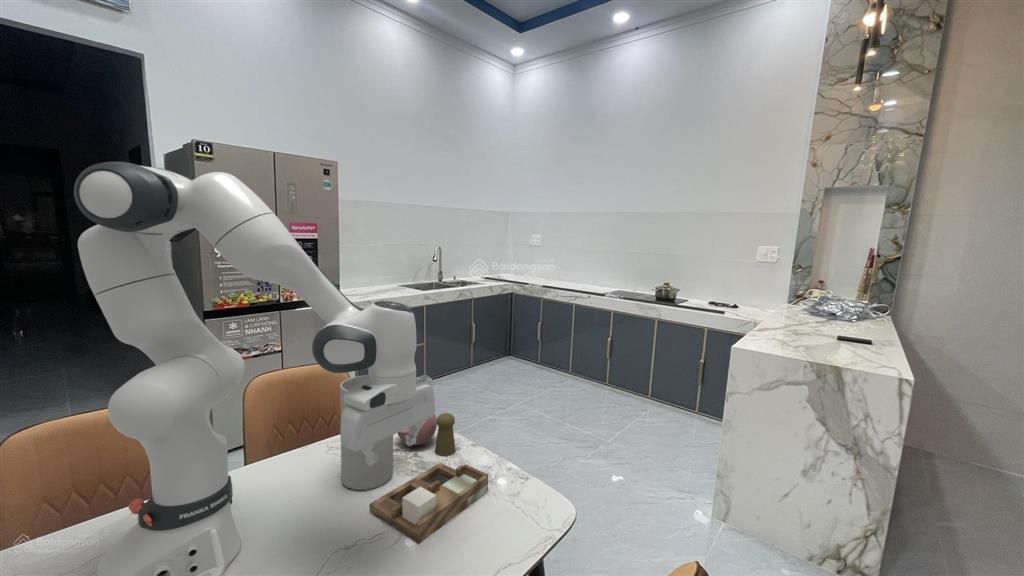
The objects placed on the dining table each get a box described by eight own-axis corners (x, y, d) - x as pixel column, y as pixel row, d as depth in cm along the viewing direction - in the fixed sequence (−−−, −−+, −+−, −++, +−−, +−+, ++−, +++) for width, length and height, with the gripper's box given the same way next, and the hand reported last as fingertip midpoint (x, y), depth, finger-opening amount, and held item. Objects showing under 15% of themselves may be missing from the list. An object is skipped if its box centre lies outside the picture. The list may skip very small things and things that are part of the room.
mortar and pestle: (391, 438, 126) (392, 402, 125) (429, 431, 132) (430, 396, 131) (401, 456, 116) (401, 417, 114) (442, 447, 121) (442, 410, 120)
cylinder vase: (363, 498, 97) (363, 396, 94) (330, 480, 103) (329, 384, 100) (403, 473, 107) (403, 381, 105) (371, 459, 114) (371, 372, 111)
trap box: (418, 544, 83) (418, 525, 82) (369, 512, 92) (369, 495, 91) (489, 490, 101) (489, 475, 101) (442, 468, 111) (443, 454, 110)
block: (418, 527, 85) (418, 506, 84) (402, 517, 88) (402, 497, 87) (435, 514, 89) (436, 495, 88) (420, 505, 92) (420, 486, 91)
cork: (430, 451, 119) (430, 415, 118) (444, 443, 124) (445, 409, 123) (445, 458, 116) (446, 421, 114) (459, 450, 120) (460, 414, 119)
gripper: (421, 369, 89) (420, 430, 91) (335, 396, 72) (335, 470, 74) (442, 375, 86) (441, 438, 87) (356, 405, 69) (357, 482, 70)
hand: (392, 453), depth 80 cm, fingers open, 8 cm apart
